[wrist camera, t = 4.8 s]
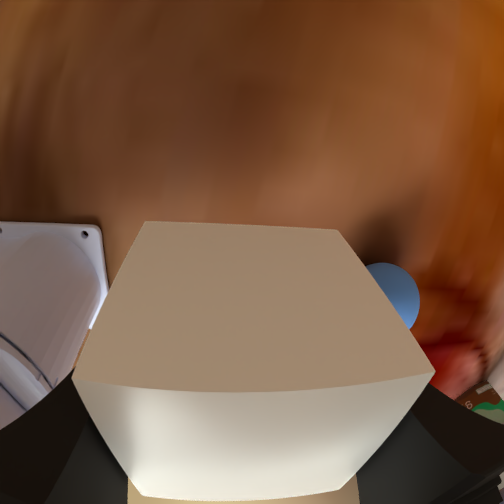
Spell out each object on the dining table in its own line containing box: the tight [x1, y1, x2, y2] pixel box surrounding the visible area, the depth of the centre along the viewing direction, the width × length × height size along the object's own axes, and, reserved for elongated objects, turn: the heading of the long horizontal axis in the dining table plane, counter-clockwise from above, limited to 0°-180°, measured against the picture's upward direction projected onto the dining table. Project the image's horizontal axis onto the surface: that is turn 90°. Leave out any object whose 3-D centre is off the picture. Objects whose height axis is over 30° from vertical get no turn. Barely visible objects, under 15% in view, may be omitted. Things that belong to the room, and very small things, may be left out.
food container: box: [455, 381, 504, 424], centre depth 29 cm, size 12×6×10 cm, turn 168°
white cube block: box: [71, 221, 435, 501], centre depth 9 cm, size 6×6×6 cm
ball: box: [366, 263, 420, 329], centre depth 18 cm, size 5×5×5 cm
